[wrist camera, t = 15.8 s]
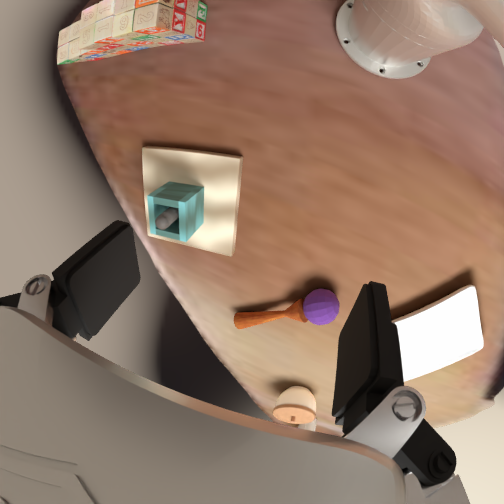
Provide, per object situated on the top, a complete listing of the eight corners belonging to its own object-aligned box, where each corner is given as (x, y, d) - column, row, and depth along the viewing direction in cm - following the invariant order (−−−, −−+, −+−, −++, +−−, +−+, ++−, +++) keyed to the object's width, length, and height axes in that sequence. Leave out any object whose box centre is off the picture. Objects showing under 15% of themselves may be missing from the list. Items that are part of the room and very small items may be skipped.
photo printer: (306, 415, 71) (298, 450, 61) (319, 417, 71) (312, 452, 61) (296, 425, 77) (289, 456, 67) (308, 427, 77) (302, 458, 67)
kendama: (224, 317, 49) (329, 297, 38) (239, 300, 54) (335, 278, 43) (239, 342, 50) (340, 329, 40) (251, 324, 55) (345, 307, 45)
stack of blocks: (96, 61, 32) (41, 67, 22) (98, 31, 28) (44, 30, 18) (205, 41, 28) (155, 26, 18) (209, 4, 25) (161, -21, 15)
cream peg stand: (147, 145, 39) (108, 162, 31) (243, 156, 36) (217, 175, 28) (152, 231, 48) (121, 259, 40) (234, 251, 45) (213, 287, 37)
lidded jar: (321, 384, 60) (316, 416, 52) (316, 402, 65) (311, 431, 58) (279, 378, 62) (271, 410, 55) (278, 397, 68) (271, 425, 61)
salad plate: (400, 372, 52) (401, 384, 49) (367, 320, 46) (368, 334, 43) (480, 337, 41) (484, 349, 38) (468, 271, 35) (474, 283, 32)
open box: (169, 181, 39) (147, 195, 35) (204, 186, 39) (185, 202, 34) (170, 215, 43) (150, 233, 38) (203, 223, 42) (186, 242, 37)
